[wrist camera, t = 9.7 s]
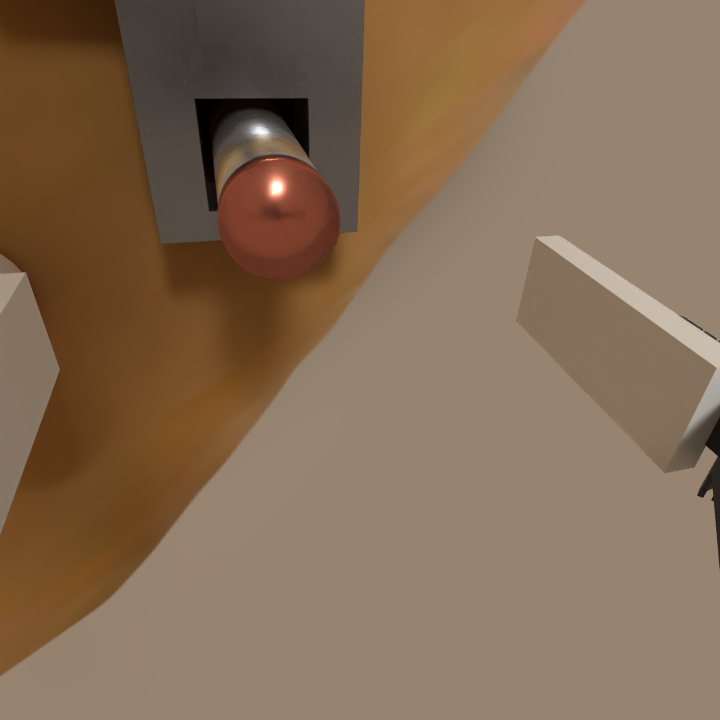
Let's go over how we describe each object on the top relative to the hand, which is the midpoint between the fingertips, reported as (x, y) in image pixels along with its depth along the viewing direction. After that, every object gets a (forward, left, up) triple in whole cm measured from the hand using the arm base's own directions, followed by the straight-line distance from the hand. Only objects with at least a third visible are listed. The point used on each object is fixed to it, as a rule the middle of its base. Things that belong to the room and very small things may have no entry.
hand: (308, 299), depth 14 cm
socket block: (-3, 0, -19) cm, 19 cm away
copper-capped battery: (0, 0, -19) cm, 19 cm away
